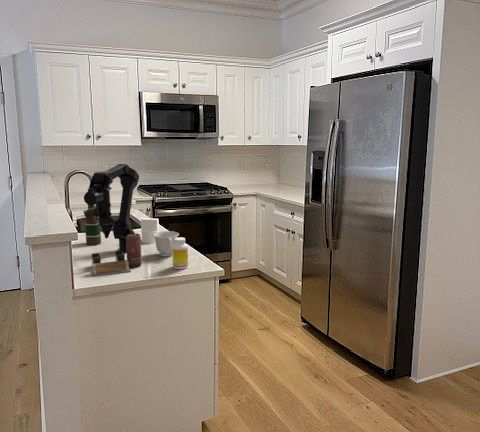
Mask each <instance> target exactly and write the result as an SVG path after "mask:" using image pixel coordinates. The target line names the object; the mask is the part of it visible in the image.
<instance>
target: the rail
mask: <svg viewBox="0 0 480 432" xmlns="http://www.w3.org/2000/svg"><path fill="white" fill-rule="evenodd" d="M129 269H130V267H129V262H128V260H127V259H125V260H123V261H116V260H114V261H108V262H107V261H106V262H101V263H97V264H93V266H92V270H93V273H94V274H96V273H104V272H112V271H120V270H129Z"/></svg>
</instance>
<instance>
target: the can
mask: <svg viewBox="0 0 480 432" xmlns="http://www.w3.org/2000/svg"><path fill="white" fill-rule="evenodd" d="M126 249H127V252H126V260H128V262H129V268H130V269H132V268H140V267H142V236H141V235H140V234H139V233H137V232H135V233H133V234H128V235H127V236H126Z"/></svg>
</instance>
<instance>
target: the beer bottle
mask: <svg viewBox="0 0 480 432" xmlns="http://www.w3.org/2000/svg"><path fill="white" fill-rule="evenodd" d="M95 206H96V205H95V204H94V205H88V204H87V210H88V209H90V208H93V207H95ZM84 230H85V242H86V243H85V244H86V245H87V246H98V245H101V244H102V237H101V232H102V231H101V226H100V225H99V222H98V220H97V219H96V217H95V216H94V217H92V218H90V219H88V220H87V219H86V217H85V219H84Z"/></svg>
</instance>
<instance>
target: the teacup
mask: <svg viewBox="0 0 480 432" xmlns="http://www.w3.org/2000/svg"><path fill="white" fill-rule="evenodd" d="M179 235H180V233H179V232H176V231H173V230H172V231H171V230H169V231H167V230H164V231H159V232H157V233H155V234H153V236H154V237H155V242H156V243H155V246H156V247H155V248H156V250H157V252H159V253H160V256H161V257H170V256H172V246H173V245H174V244H175V242H174V239H175V238H178V236H179Z"/></svg>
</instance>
